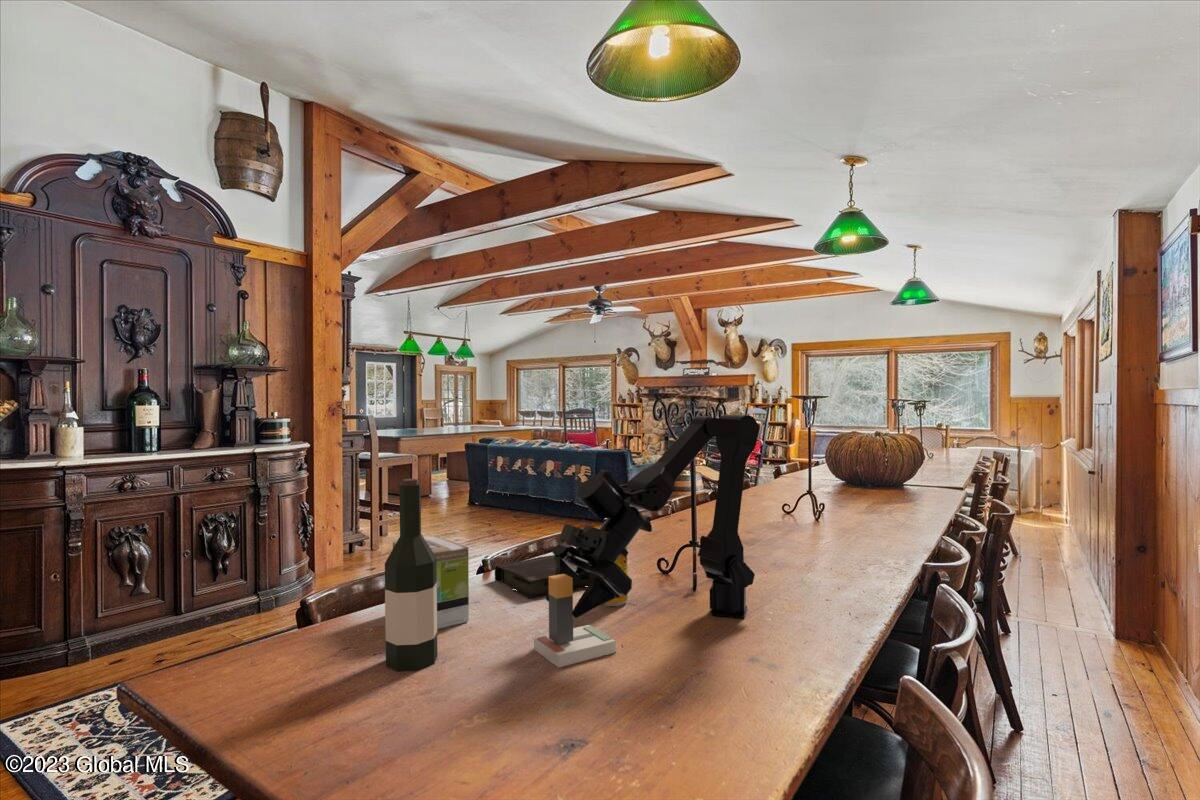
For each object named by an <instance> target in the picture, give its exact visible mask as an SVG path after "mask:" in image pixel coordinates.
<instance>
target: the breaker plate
mask: <svg viewBox="0 0 1200 800" xmlns="http://www.w3.org/2000/svg"><path fill="white" fill-rule="evenodd" d="M616 642H617V641H616V640H615V639H614V638H613V637H611V636H609V635H608V634H607V633H605V632H603V631H602V630H600V629H597V628H596V627H595V626H592V625H590V624H586V625H582V626H577V627H573V640H572V641H568V642H564V643H560V644H557V643H555V642H554V641H552V640H551V639H549V633H547V634H543V635H542V634H541V635H538V636H534V637H533V650H534V651H536V652H537V653H539V654H540V655H541V656H542V657H543V658H545V659H547V660H548V661H549V662H550V663H551V664H553V665H554V666H555V667H557V668H562V667H566V666H570V665H574V664H576V663H577V664H578V663H581V662H585V661H589V660H593V659H597V658H600V657H604V655H605V656H607V655H612V654H616V653H617V650H616V649H617V643H616ZM615 652H616V653H615Z"/></svg>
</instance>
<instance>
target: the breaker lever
mask: <svg viewBox="0 0 1200 800" xmlns="http://www.w3.org/2000/svg"><path fill="white" fill-rule="evenodd" d="M548 578H549V602H548V634H549V639H551V640H552V641H554V642H555V643H557V644H560V643H564V642H568V641H572V640H573V628H574V616H573V615H572V612H573V610H574V603H573V602H574V595H573V593H574V592H573V591H574V590H573V578H572V577H570V576H568V575H566V574H560V575H554V576H548Z"/></svg>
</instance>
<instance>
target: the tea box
mask: <svg viewBox="0 0 1200 800" xmlns="http://www.w3.org/2000/svg"><path fill="white" fill-rule="evenodd" d="M423 538H424V539H425V541H426V542H427V544H428V545H429V547H430V548H431V550H432V551H433V553H434V554H435V556H436V572H437V630H441V629H445V628H449V627H452V626H458V625H461V624H464V623H468V622H469V618H470V617H469V615H470V605H469V604H470V603H469V601H470V599H469V598H470V597H469V596H470V595H469V594H470V592H469V591H470V590H469V589H470V587H469V582H470V579H469V576H470V574H469V573H470V571H469V569H470V568H469V566H470V565H469V561H470V560H469V558H470V555H469V547H468V546H466V545H464V544H460V543H457V542H455V541H452V540H450V539H447V538H443V537H440V536H437V535H434V536H433V535H432V536H425V537H424V536H423ZM396 543H397V541H393V542H392V549H393V548H394V546H395V544H396Z"/></svg>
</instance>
